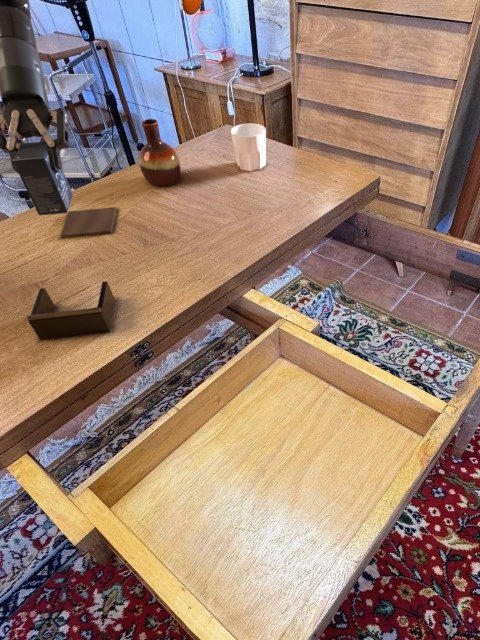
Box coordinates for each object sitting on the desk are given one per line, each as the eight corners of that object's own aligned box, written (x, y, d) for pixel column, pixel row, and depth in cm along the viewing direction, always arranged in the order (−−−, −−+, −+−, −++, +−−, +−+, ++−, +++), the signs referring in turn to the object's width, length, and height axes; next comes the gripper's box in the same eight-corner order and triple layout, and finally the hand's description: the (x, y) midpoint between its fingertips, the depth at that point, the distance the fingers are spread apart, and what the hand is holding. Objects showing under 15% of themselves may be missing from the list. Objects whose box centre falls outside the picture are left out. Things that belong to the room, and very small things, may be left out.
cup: (229, 170, 132) (224, 134, 124) (244, 157, 138) (240, 121, 130) (259, 175, 129) (256, 139, 122) (273, 162, 135) (271, 126, 127)
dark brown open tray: (40, 341, 86) (26, 318, 81) (51, 308, 92) (37, 285, 87) (110, 333, 87) (99, 309, 82) (115, 300, 93) (105, 277, 89)
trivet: (62, 239, 109) (60, 235, 108) (70, 215, 116) (68, 211, 116) (112, 234, 110) (110, 230, 109) (116, 210, 118) (115, 207, 117)
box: (68, 213, 87) (43, 157, 79) (38, 216, 87) (10, 160, 78) (74, 194, 92) (51, 139, 84) (45, 197, 91) (19, 142, 83)
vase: (148, 173, 131) (132, 114, 119) (185, 172, 132) (173, 113, 120) (141, 190, 124) (123, 130, 112) (180, 189, 125) (167, 129, 113)
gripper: (70, 86, 85) (85, 177, 87) (-8, 91, 84) (9, 184, 86) (52, 60, 78) (69, 160, 79) (-34, 66, 76) (-14, 167, 78)
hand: (38, 172), depth 83 cm, fingers closed on box, 5 cm apart
